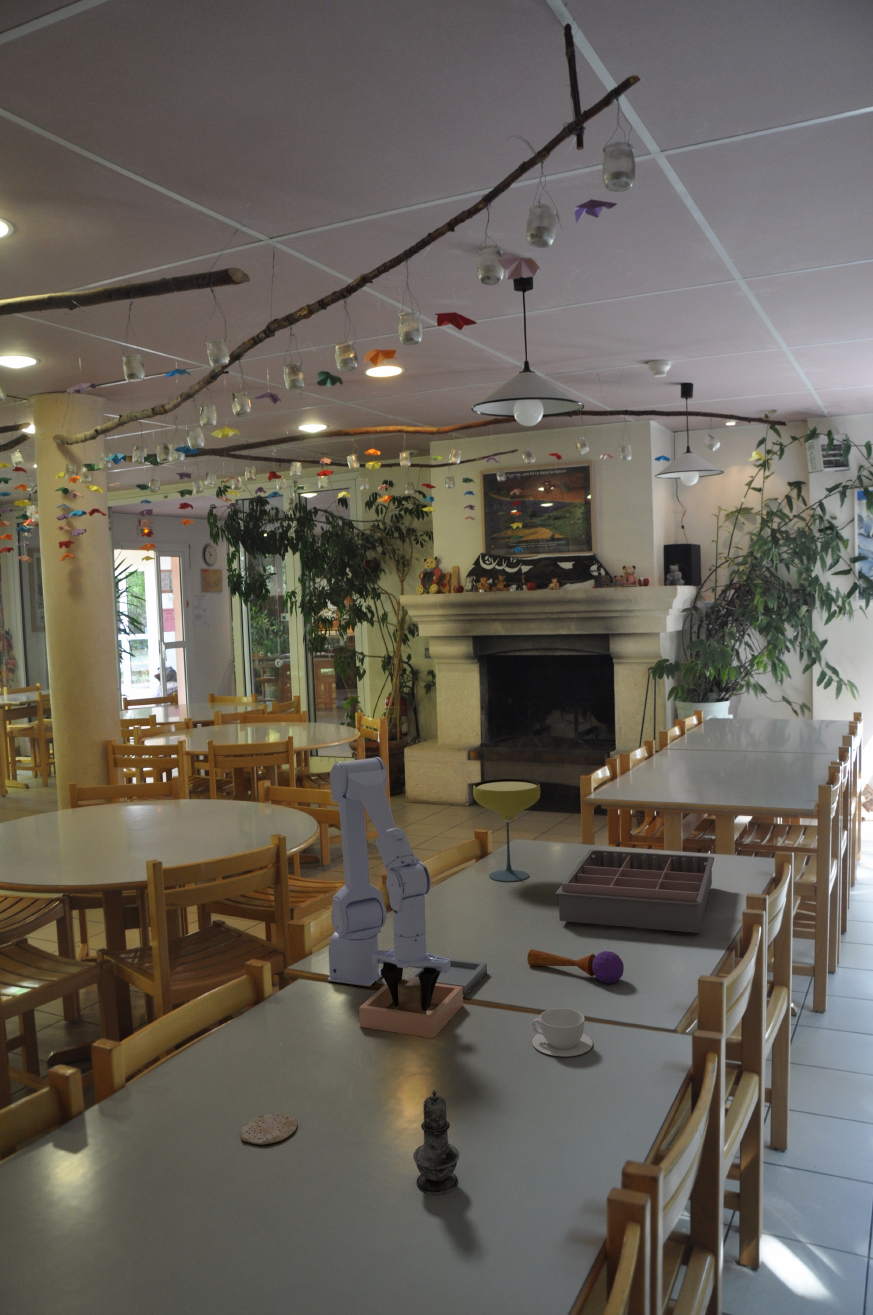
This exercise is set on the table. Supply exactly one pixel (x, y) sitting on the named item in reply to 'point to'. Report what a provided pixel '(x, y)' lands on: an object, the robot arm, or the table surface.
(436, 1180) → the salt shaker
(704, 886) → the organizer tray
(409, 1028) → the holder
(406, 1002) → the brown rounded cylinder
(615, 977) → the kendama
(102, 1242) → the table surface
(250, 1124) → the flatbread
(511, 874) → the cocktail glass
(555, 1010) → the teacup
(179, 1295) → the table surface
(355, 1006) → the table surface
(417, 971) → the tray
